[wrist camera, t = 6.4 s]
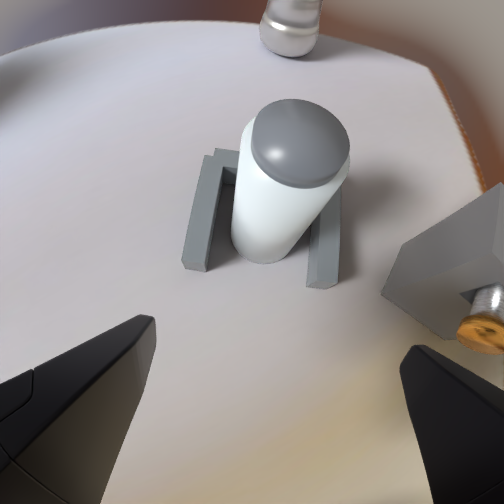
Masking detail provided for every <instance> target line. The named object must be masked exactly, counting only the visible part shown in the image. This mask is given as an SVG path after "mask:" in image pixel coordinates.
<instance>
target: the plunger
mask: <svg viewBox="0 0 504 504" xmlns="http://www.w3.org/2000/svg"><path fill="white" fill-rule="evenodd" d="M456 336H457V339H458V340H459V341H460V342H461V343H462V344H463V345H465V346H466V347H468V348H470V349H472V350H475V351H477V352H480V353H484V354H491V355H498V354H503V353H504V286H503V285H502V284H501V283H500V282H495V283H492V284H489V285H486V286H482V287H479V288H477V290H476V294H475V297H474V301H473V304H472V307H471V311H470V314H469V316H466V317H464V318H463V319H462V320H461V322H460V325H459V328H458V331H457V333H456Z"/></svg>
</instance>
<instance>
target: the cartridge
mask: <svg viewBox="0 0 504 504" xmlns="http://www.w3.org/2000/svg"><path fill="white" fill-rule="evenodd" d="M349 150H350V144H349V138H348V135H347V132H346V130H345V128H344V127H343V125H342V124H341V122H340V121H339V120H338V119H337V118H336V117H335V116H334V115H333V114H332V113H330V112H329V111H328V110H326V109H325V108H323V107H321V106H319V105H317V104H315V103H312V102H309V101H305V100H299V99H284V100H279V101H276V102H273V103H271V104H269V105H267V106H266V107H264V108H263V109H262V110H261V111H260V112H259V113H258V115H257V116H256V117H254V118H253V119H252V120H251V121H250V122H249V123H248V124H247V126H246V127H245V129H244V131H243V134H242V138H241V146H240V154H239V162H238V171H237V179H236V188H235V197H234V205H233V214H232V223H231V239H232V243H233V245H234V247H235V249H236V250H237V251H238V253H239V254H240V255H241V256H242V257H244V258H245V259H247V260H249V261H251V262H254V263H258V264H270V263H274V262H277V261H279V260H281V259H282V258H283V257H285V256H286V255H287V254H288V252H289V251H290V250H291V249H292V247H293V246H294V245H295V244H296V242H297V241H298V240H299V238H300V237H301V236H302V235H303V233H304V232H305V231H306V229H307V228H308V227H309V226H310V224H311V223H312V222H313V220H314V219H315V218H316V217H317V215H318V214H319V213H320V211H321V210H322V209H323V207H324V206H325V205H326V204H327V202H328V201H329V200H330V198H331V197H332V196H333V194H334V193H335V192H336V190H337V189H338V188H339V187H340V185H341V184H342V183H343V181H344V180H345V178H346V176H347V174H348V171H349V167H350V156H349Z"/></svg>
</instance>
